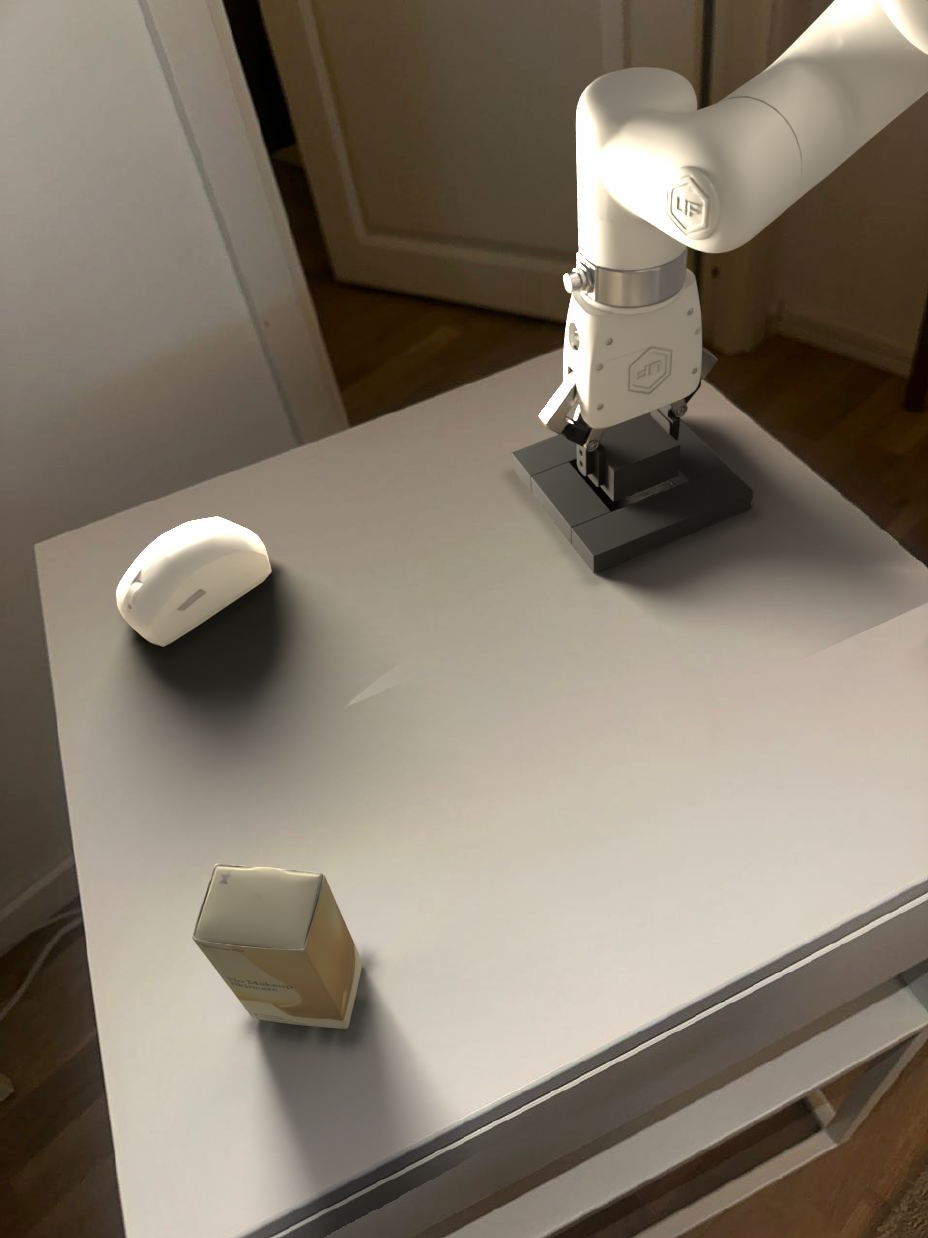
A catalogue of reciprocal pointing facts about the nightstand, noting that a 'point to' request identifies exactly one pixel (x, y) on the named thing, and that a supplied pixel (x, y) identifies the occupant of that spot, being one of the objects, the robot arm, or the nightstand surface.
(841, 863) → the nightstand surface
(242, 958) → the cosmetic box
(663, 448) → the dark grey square block
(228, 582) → the computer mouse
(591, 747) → the nightstand surface
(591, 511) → the frame pad
